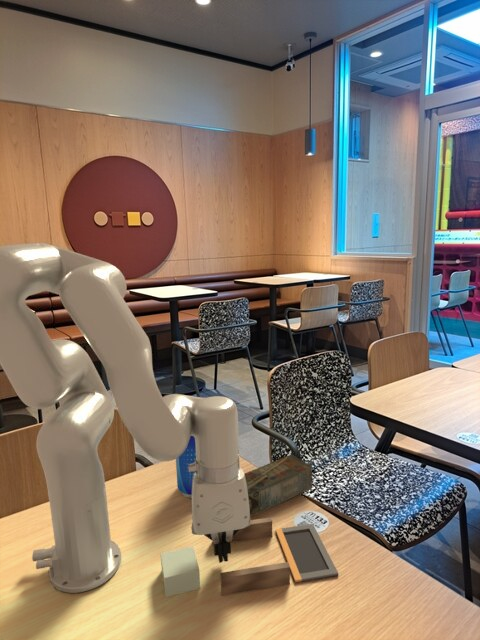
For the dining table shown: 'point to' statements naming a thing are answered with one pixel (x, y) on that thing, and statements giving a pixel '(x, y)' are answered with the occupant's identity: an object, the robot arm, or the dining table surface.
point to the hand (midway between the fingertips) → (222, 556)
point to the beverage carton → (277, 482)
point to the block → (180, 571)
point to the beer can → (186, 468)
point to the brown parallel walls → (256, 575)
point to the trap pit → (305, 553)
